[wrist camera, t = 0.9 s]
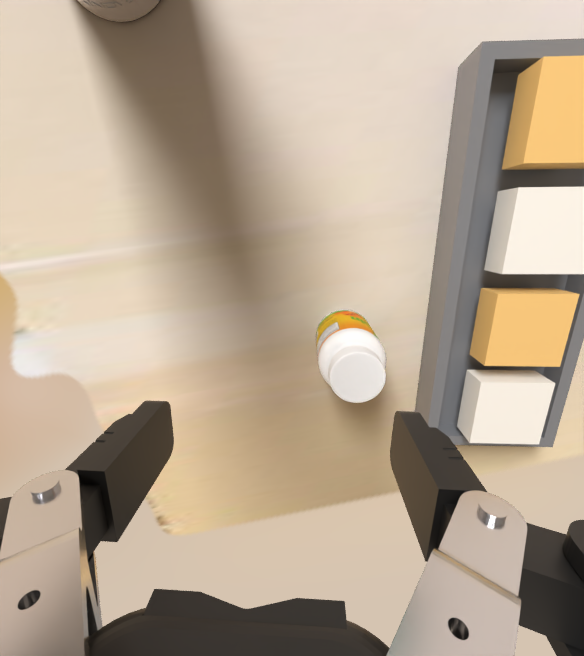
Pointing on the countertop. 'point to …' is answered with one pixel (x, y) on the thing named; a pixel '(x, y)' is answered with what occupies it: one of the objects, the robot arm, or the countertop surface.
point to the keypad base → (486, 235)
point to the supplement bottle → (350, 356)
